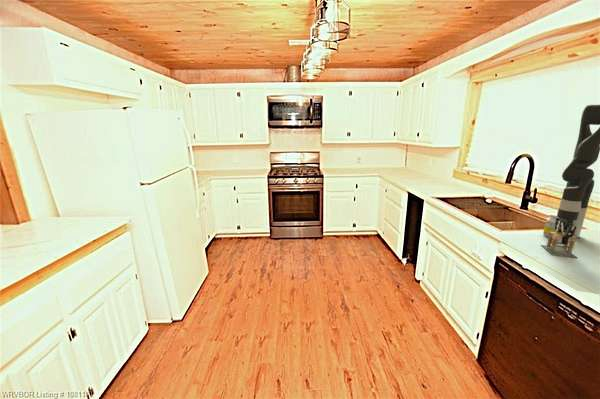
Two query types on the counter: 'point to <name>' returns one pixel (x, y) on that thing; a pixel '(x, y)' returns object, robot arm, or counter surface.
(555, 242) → the notched wooden block
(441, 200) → the counter surface
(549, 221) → the supplement bottle
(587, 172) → the robot arm
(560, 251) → the rubber mat
